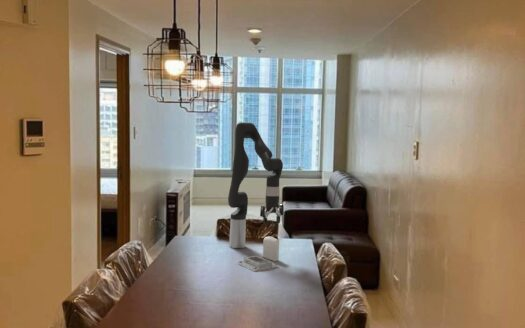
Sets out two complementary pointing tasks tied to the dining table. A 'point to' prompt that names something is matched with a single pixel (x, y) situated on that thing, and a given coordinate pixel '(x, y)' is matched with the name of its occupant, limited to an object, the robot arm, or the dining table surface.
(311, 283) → the dining table surface
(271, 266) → the plate
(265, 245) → the photo printer
